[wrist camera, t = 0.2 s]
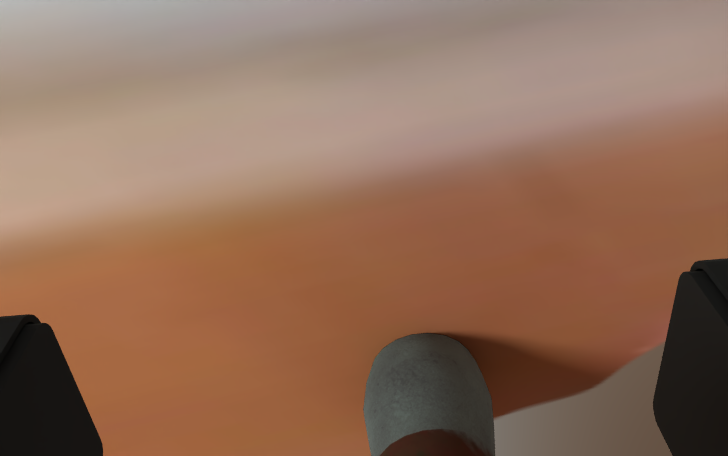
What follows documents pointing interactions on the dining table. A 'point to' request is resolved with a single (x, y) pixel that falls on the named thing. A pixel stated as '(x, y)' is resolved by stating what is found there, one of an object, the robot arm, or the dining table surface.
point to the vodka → (428, 400)
